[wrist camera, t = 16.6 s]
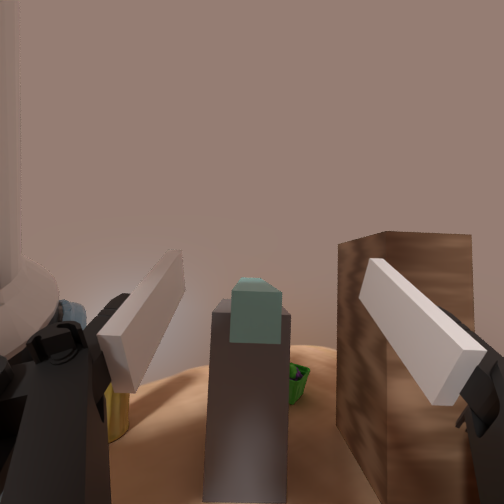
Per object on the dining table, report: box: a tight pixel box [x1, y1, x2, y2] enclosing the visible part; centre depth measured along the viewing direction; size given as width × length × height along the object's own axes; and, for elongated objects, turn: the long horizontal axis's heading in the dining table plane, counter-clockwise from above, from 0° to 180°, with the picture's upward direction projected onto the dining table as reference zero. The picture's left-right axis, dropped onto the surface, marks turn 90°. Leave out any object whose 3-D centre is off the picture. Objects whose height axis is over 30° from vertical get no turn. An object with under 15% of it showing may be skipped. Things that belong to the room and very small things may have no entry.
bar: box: [229, 278, 282, 344], centre depth 29 cm, size 26×4×4 cm, turn 1°
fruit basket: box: [289, 363, 310, 405], centre depth 48 cm, size 11×9×11 cm
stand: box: [336, 231, 480, 504], centre depth 33 cm, size 14×10×30 cm
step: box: [202, 299, 291, 503], centre depth 32 cm, size 12×9×20 cm
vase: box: [104, 383, 130, 443], centre depth 35 cm, size 6×6×14 cm
